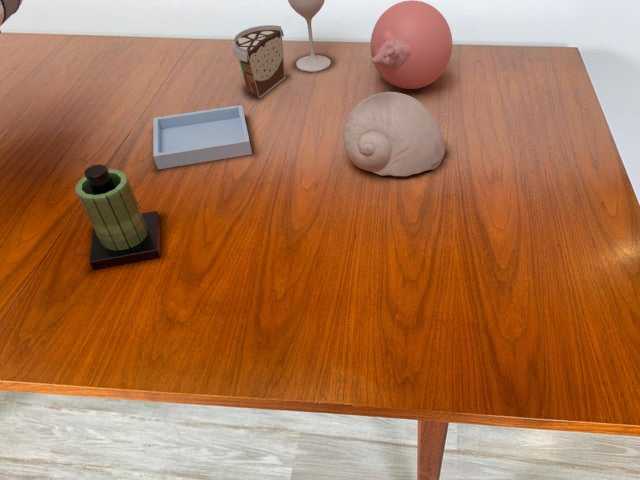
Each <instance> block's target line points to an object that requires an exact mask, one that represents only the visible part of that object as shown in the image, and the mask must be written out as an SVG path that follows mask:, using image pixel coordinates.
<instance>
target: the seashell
mask: <svg viewBox="0 0 640 480" xmlns="http://www.w3.org/2000/svg"><path fill="white" fill-rule="evenodd" d="M342 133H343V134H342V140H343V147H344V151H345V153H346V155H347V157H348V158H349V160H350V161H351V162H352V163H353V165H355V166H356V167H357V168H358V169H361V170H363V171H367V172H371V173H373V174H375V175H379V176H393V177H408V176H409V177H410V176H411V175H416V174H420V173H423V172H426V171H431V170H436V169H437V168H438V167H440V165H441V163H442V161H443V159H444V157H445V154H446V147H445V141H444V140H445V139H444V136H443V132H442V129H441V127H440V125H439V123H438V121H437V119H436V118H435V116H434V115H433V114H432V113H431V111H430V110H429V109H428V108H427V107H426V106H425V105H424V104H423V103H422V102H420V101H419V100H418V99H416V98H415V97H414V96H413V97H412V96H410V95H408V94H406V93H401V92H399V91H384V92H379V93H374V94H372V95H369V96H367V97H366V98H363V100H360V102H359V103H357V104H356V105H355V106H354V107H353V108H352V110H351V111H350V113H349V114H348V116H347V118H346V121H345V123H344V126H343V132H342Z"/></svg>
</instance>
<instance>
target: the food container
mask: <svg viewBox="0 0 640 480" xmlns="http://www.w3.org/2000/svg"><path fill="white" fill-rule="evenodd" d="M283 37H285V34H284V30H283V28H282V26H281V25H275V24H274V25H273V24H272V25H271V24H267V25H257V26H253V27H249V28H246V29H244V30H242V31H240V32H238V33H237V34H236V35H235V36H234V38H233V41H232V42H233V43H232V54H233V55H234V57H235V58H236V59H238V62H239V66H240V68H241V73H242V74H243V79H244V83H245V86H246V90H247V92H248V94H249V95H250V96H251V97H252V98H255V99H258V100H260V99H261V98H262V97H264V96H265V95H267V93H269V92H271V90H273V89H274V88H275V87H276V86H277V85H279V84H280V83H282V81H284V80H285V79H286V67H285V55H284V43H283Z"/></svg>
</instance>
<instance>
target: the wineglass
mask: <svg viewBox="0 0 640 480" xmlns="http://www.w3.org/2000/svg"><path fill="white" fill-rule="evenodd" d="M287 2H288V4H289V6H290V7H291V9H293V10H294V12H295V13H297V14H298V15H299V16H300V17H302V18H304V20H305V21H306V24H307V32H308V43H309V49H310V50H309V51H310V52H309V53H310V54H309V55H306V56H303V57H300V58H299V59H298V60H297V61H296V64H295V66H296V68H297V69H298V70H300V71H302V72H307V73H311V72H312V73H314V72H321V71H325V70H326V69H328V68H329V67H330V66H331V65H332V64H331V63H332V61H331V59H330V58H329V57H327V56H324V55H319V54H317V55H316V54H315V49H314V39H313V28H312V20H313V18H314V17H315V16H317V14H318V13H319V12H320V10H321V9H322V7H323V6H324V4H325V0H287Z"/></svg>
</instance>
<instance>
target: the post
mask: <svg viewBox="0 0 640 480" xmlns="http://www.w3.org/2000/svg"><path fill="white" fill-rule="evenodd" d="M108 169H109V168H108V167H107V165H104V164H93V165H91V166H89V167H87V168H86V169H85V170H84V172H83V173H84V177H86V179H87V181H88V183H89V185H90V187H91V189H92V192H93V194H94V195H99V194H105V193H107V192H109V191H111V190H113V189H115V185H114V183H113V181H112V178H111V176H110V174H109V171H108ZM142 215H143V217H144V220H145V222H146V225H147V227H148V234H147V236H146V237H145V239H144V240H143V241H142V242H140V243H139V244H138V245H136V246H134V247H132V248H130V247H129V249H124V250H117V251H115V250H110V249H107V248H105V247H104V246H103V245H102V244H101V242H100V240H99V238H98V236H97V234H96V232H95V230H94V228H93V227H92V233H91V234H92V235H91V242H90V253H89V262H88V263H89V265H90V267H91V269H92V270H93V271H95V270H101V269H106V268H112V267H116V266H122V265H129V264H133V263H139V262H144V261H148V260H154V259H160V258H161V217H160V214H159V211H158V210H153V211H147V212H142Z"/></svg>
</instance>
